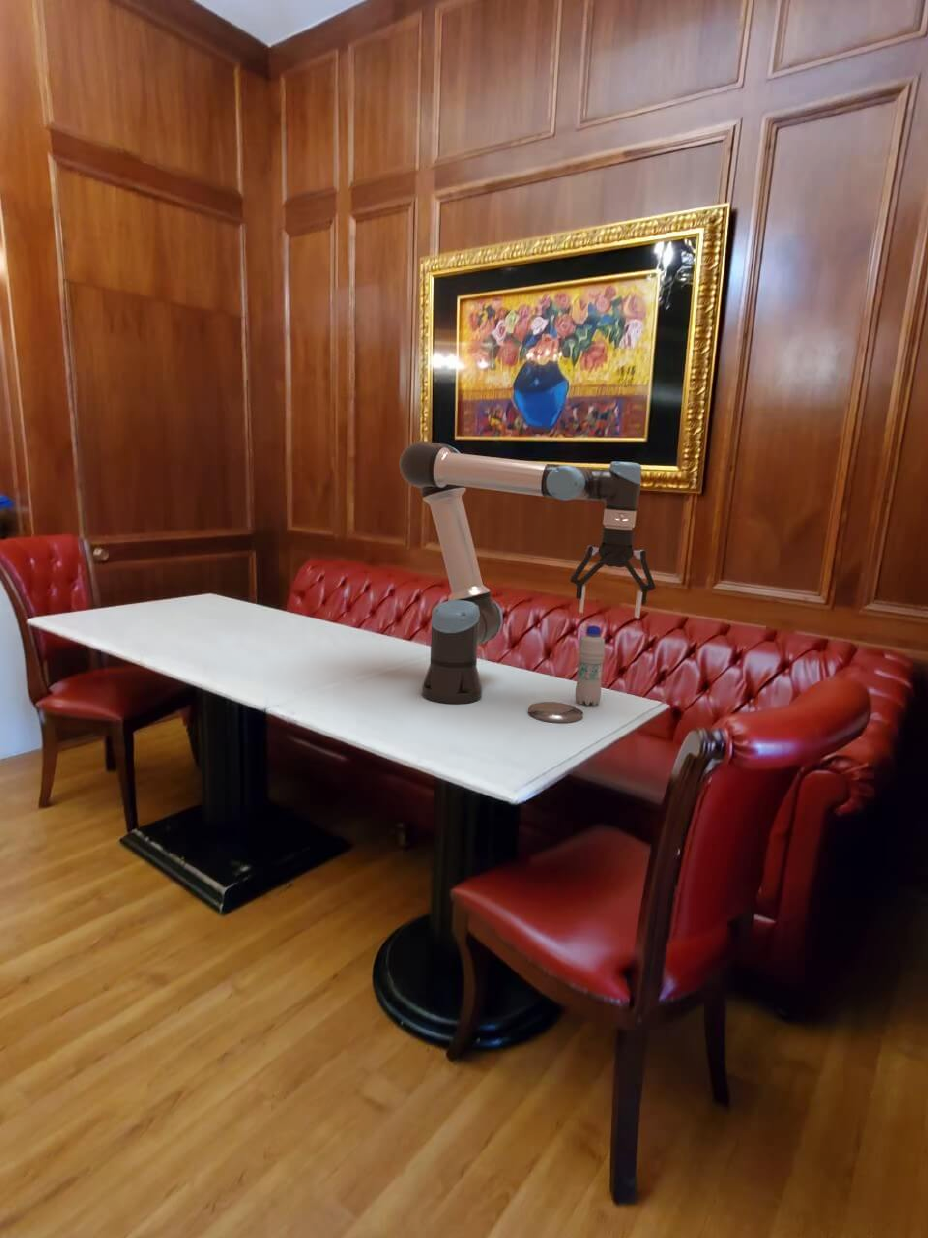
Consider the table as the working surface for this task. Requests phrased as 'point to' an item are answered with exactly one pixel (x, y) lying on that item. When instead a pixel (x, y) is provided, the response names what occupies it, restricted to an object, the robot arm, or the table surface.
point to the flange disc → (555, 712)
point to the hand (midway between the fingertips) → (608, 614)
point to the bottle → (590, 667)
